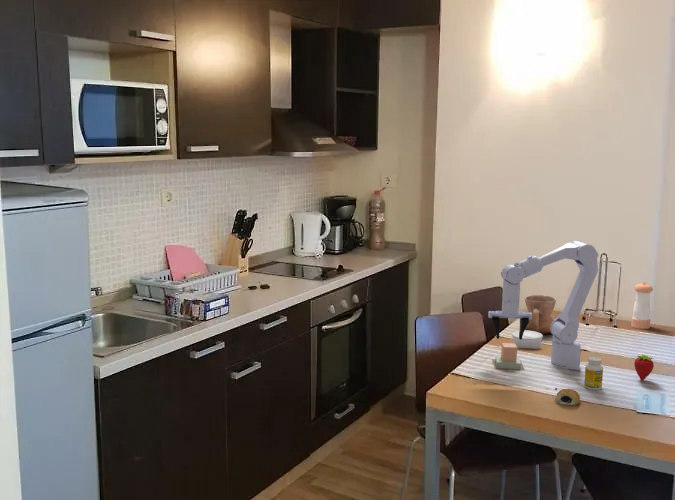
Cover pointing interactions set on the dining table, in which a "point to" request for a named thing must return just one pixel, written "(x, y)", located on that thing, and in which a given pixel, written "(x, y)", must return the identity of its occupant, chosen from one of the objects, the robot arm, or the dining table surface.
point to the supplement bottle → (593, 374)
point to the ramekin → (528, 339)
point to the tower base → (506, 368)
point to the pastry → (568, 397)
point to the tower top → (507, 363)
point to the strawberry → (643, 366)
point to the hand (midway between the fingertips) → (509, 338)
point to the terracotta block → (509, 352)
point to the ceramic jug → (540, 313)
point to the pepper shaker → (642, 306)
